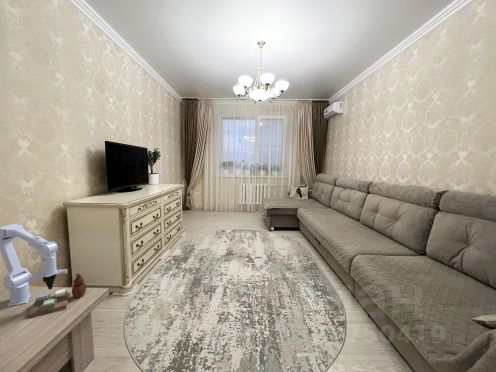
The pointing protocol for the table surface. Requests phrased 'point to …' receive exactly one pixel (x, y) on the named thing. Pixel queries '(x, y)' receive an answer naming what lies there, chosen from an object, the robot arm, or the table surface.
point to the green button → (49, 302)
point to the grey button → (43, 296)
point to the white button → (60, 292)
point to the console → (58, 305)
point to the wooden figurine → (78, 287)
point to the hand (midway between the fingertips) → (50, 288)
